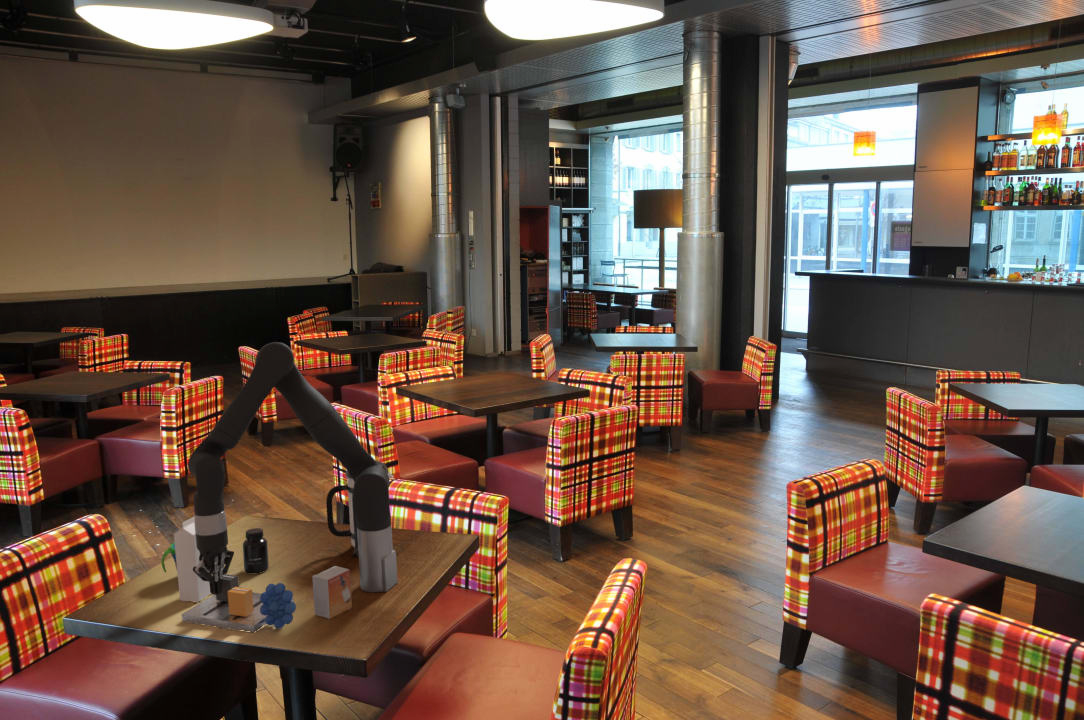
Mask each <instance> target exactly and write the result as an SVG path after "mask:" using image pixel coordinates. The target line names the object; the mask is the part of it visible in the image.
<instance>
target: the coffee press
mask: <svg viewBox="0 0 1084 720" xmlns="http://www.w3.org/2000/svg"><path fill="white" fill-rule="evenodd" d="M374 460H375V461H376V462H377V463H378V464H379V465H380V466H381V467H382V468H383V469H384V470H385V471H386V472H387V474H388V476H389V479H394V475H393V474H392V472H390V471H389V468H388V467H387V465H386V464H385V463H384V462H382V461H380V460H376V459H374ZM345 477H346V481H347V483H346V484H340V485H339V484H338V485H336V486H333V487H332V488H330V490H329V491H328V493H327V496H326V504H325V505H326V521H327V527H328V531H329V532H330V533H331V534H332V535H334V536H335V537H340V538H341V537H342V538H343V537H345V538H346V537H350V543H351V546H352V547H353V551H352V556H354V557H359V554H358V537H357V522H356V518H355V506H354V483H355V482H354V480H353V479H352V477H351V476H350V474H349V473H348V471H347V470H346V471H345ZM342 491H344V492H345V491H346V492H347V496H348V510H349V512H348V514H349V529H346V530H339V529H337V528H336V527H335V523H334V511H333V508H334V507H333V498H334V496H335V494H336V493H339V492H342Z"/></svg>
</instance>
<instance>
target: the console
mask: <svg viewBox="0 0 1084 720" xmlns="http://www.w3.org/2000/svg"><path fill="white" fill-rule="evenodd" d="M261 594H262V593H260V592H253V591H252V595H253V608H254V612H252V613H251V614H249V615H248V616H246V617H245V616H238V615H232V614H229V603H228V602H227V601H220V600H216V595H213V594H212V595H210V596H209V597H207V598H205V599H204V600H202V601H201V602H199V604H196V605H195V606H193V607H191V608H189V609H188V610H186V611H185V612H183V613H181V622H182V623H188V622H189V624H194V623H197V624H196V625H200V624H205V625H204V626H206V625H210V626H209V627H213V626H216V627H215V628H219V627H222V628H221V629H225V628H230V629H229V630H231V629H236V630H235V631H238V630H244V631H250V632H255V631H257V630H258V629H260V628H261V627H262V626H263V625H265V624H267V623H266V622H265V619H266V616H267V615H266V616H265V615H262V614H261V613H260V608H261V606H262V605H263V603H261V601H260V596H261ZM291 602H294V603H295V599H294V597H293V598H292V600H291ZM267 625H268V624H267ZM265 626H266V625H265ZM261 629H262V628H261ZM261 629H260V630H261ZM244 631H243V632H244ZM258 631H259V630H258ZM258 631H257V632H258ZM250 632H249V633H250Z"/></svg>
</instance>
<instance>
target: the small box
mask: <svg viewBox="0 0 1084 720" xmlns="http://www.w3.org/2000/svg"><path fill="white" fill-rule="evenodd" d="M311 577H312V589H313V591H312V593H313V594H312V595H313V605H314V606H313V607H314V608H313V609H314V615H315V616H319V617H322V618H326V619H329V620H330V619H331V620H332V619H333V618H334V617H336V616H338V615H340V614H342V613H344V612H345V611H347V610H350V609H352V607H353V605H352V587H351V584H352V583H351V570H350V569H349V568H346V567H345V568H344V567H341V566H337V565H332V567H329V568H328V569H326V570H323V571H321V572H320V573H317V574H314V575H312V576H311Z"/></svg>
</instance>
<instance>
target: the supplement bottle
mask: <svg viewBox="0 0 1084 720" xmlns="http://www.w3.org/2000/svg"><path fill="white" fill-rule="evenodd" d="M264 536H265V535H264V530H263V528H259V527H256V528H249V529H247V530H246V531H245V540H244V541H243V543H242V555H243V556H242V558H243V559H242V560H243V570H244V572H245V573H246V574H248V573H259V574H261V573H260V572H263V571H265V572H267V571H268V570H267V569H269V568H270V567H269V565H270V563H269V550H268V549H269V547H268V540H267V538H265V537H264ZM266 570H267V571H266ZM263 573H264V572H263Z"/></svg>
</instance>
